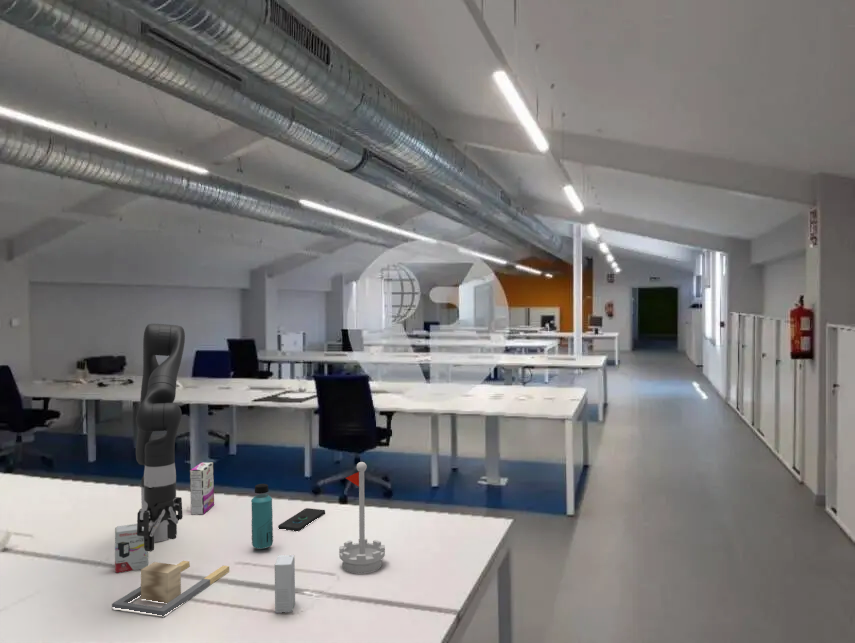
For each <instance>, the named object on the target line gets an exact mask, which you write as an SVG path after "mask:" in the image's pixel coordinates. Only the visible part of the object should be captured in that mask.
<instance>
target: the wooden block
mask: <svg viewBox="0 0 855 643" xmlns="http://www.w3.org/2000/svg"><path fill="white" fill-rule="evenodd" d="M181 573H182V572H181V565H177V564H172V563H164V562H158V561H157V562H156V561H154V562H153V561H152V562H151V563H150V564H148V566H146V567H145V568H143V569H140V586H141V597H140V600H141V599H146V600H152V601H158V602H164V603H168V602H170V601H171V600H173V599H174V598H176V597H177V596H179V595H180V594H182V586H181V585H182V584H181V582H182V581H181V580H182V577H181V576H182V574H181Z"/></svg>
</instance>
